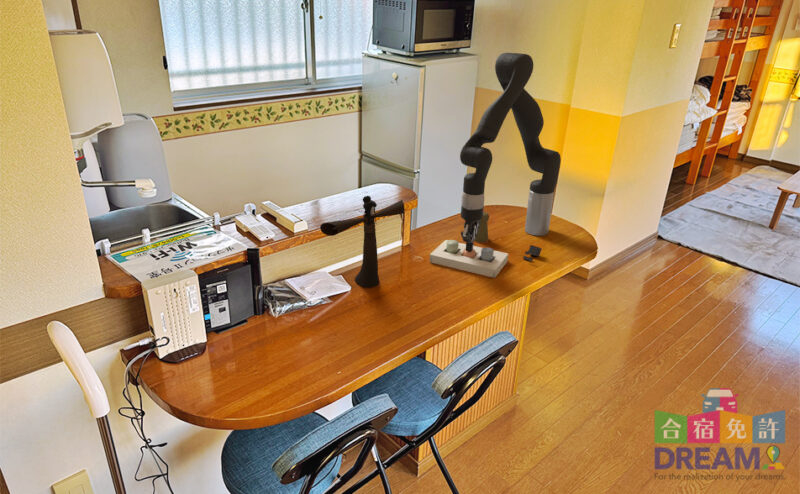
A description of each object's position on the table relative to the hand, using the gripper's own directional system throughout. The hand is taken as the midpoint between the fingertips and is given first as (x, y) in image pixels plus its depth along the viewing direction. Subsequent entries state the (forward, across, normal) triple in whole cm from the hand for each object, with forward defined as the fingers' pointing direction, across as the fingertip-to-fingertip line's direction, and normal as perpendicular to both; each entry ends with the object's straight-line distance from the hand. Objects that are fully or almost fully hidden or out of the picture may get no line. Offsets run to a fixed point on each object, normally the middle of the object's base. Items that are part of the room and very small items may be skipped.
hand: (469, 250), depth 191 cm
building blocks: (+5, -14, +19) cm, 24 cm away
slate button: (+2, 0, +7) cm, 7 cm away
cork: (+4, -20, -3) cm, 21 cm away
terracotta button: (+4, 0, 0) cm, 4 cm away
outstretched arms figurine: (+5, +29, -24) cm, 38 cm away
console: (+4, 0, 0) cm, 4 cm away
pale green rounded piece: (+2, 0, -6) cm, 7 cm away
